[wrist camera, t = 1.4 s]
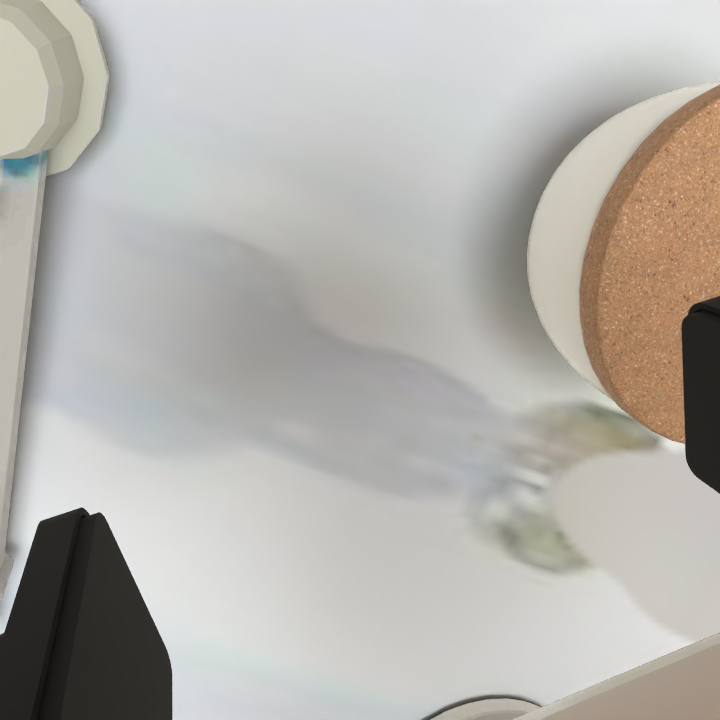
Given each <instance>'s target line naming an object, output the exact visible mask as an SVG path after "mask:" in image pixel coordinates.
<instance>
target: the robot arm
mask: <svg viewBox="0 0 720 720" xmlns="http://www.w3.org/2000/svg"><path fill="white" fill-rule="evenodd" d="M681 331H682V361H683V391H684V421H685V450H686V460H687V463H688V465H689V467H690V469H691V471H692V472H693V473H694V475H695V476H696V477H698V478H699V479H700V480H702V481H703V482H704V483H706V484H707V485H709V486H710V487H711V488H713V489H714V490H716V491H717V492H718V493H720V296H717V297H714V298H711V299H708V300H705V301H702V302H699V303H696V304H694V305H693V306H692V307H691V308H690V309H689V312H688V316H686V317H685V318H684V319H683V321H682V327H681ZM0 720H172V669H171V663H170V659H169V655H168V652H167V650H166V647H165V645H164V643H163V641H162V638H161V636H160V634H159V632H158V630H157V628H156V626H155V623H154V621H153V619H152V617H151V615H150V613H149V611H148V608H147V606H146V604H145V602H144V600H143V598H142V596H141V593H140V591H139V589H138V587H137V585H136V583H135V581H134V578H133V576H132V574H131V572H130V570H129V568H128V566H127V563H126V561H125V559H124V557H123V555H122V553H121V551H120V548H119V546H118V544H117V542H116V540H115V538H114V536H113V533H112V531H111V529H110V527H109V525H108V523H107V521H106V519H105V517H104V516H103V515H102V513H100V512H99V513H96V514H93V515H89V513H88V512H87V511H86V510H85V509H84V508H79V509H76V510H73V511H70V512H67V513H64V514H61V515H58V516H55V517H52V518H49V519H46V520H43V521H40V523H39V525H38V527H37V530H36V533H35V537H34V540H33V543H32V546H31V549H30V553H29V556H28V559H27V562H26V565H25V569H24V572H23V575H22V578H21V581H20V585H19V588H18V591H17V594H16V597H15V601H14V604H13V607H12V610H11V613H10V616H9V620H8V623H7V626H6V629H5V632H4V633H3V634H1V635H0ZM430 720H720V633H718V634H715V635H713V636H711V637H708V638H706V639H703V640H701V641H698V642H696V643H694V644H691V645H689V646H686V647H684V648H682V649H679V650H677V651H675V652H672V653H670V654H667V655H665V656H663V657H660V658H658V659H655V660H653V661H651V662H648V663H646V664H643V665H641V666H639V667H636V668H634V669H632V670H629V671H627V672H624V673H622V674H620V675H617V676H615V677H612V678H610V679H608V680H605V681H603V682H600V683H598V684H596V685H593V686H591V687H589V688H586V689H584V690H581V691H579V692H577V693H574V694H572V695H569V696H567V697H565V698H562V699H560V700H558V701H555V702H553V703H551V704H548V705H546V706H543V707H539V706H537V705H534V704H531V703H528V702H526V701H521V700H514V699H507V698H506V699H486V700H481V701H476V702H471V703H467V704H464V705H461V706H458V707H455V708H453V709H450V710H447V711H445V712H443V713H441V714H439V715H438V716H436V717H434V718H432V719H430Z"/></svg>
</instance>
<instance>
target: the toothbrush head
mask: <svg viewBox="0 0 720 720" xmlns="http://www.w3.org/2000/svg"><path fill="white" fill-rule="evenodd" d="M109 79H110V73H109V70H108V66H107V62H106V59H105V55H104V52H103V48H102V45H101V41H100V37H99V34H98V30H97V27H96V23H95V20H94V18H93V17H92V16H91V15H90V14H89V13H88V11H87V10H86V9H85V8H84V7H83V6H82V5H81V3H80V2H79V1H78V0H0V600H1V599H2V596H3V593H4V590H5V587H6V585H7V582H8V579H9V576H10V573H11V570H12V567H13V561H14V559H13V558H12V557H11V556H9V555H8V554H7V553H6V552H5V547H6V538H7V529H8V519H9V510H10V501H11V492H12V483H13V473H14V464H15V455H16V446H17V437H18V427H19V418H20V409H21V400H22V391H23V381H24V372H25V363H26V354H27V345H28V335H29V326H30V317H31V308H32V299H33V289H34V280H35V271H36V262H37V253H38V243H39V234H40V225H41V216H42V207H43V197H44V188H45V179H46V177H47V176H50V175H53V174H56V173H59V172H62V171H65V170H68V169H69V168H70V167H71V166H72V165H73V164H74V162H75V161H76V160H77V158H78V157H79V156H80V155H81V153H82V152H83V151H84V149H85V148H86V147H87V146H88V144H89V143H90V142H91V141H92V139H93V138H94V137H95V135H96V134H97V133H98V132H99V130H100V129H101V128H102V121H103V115H104V109H105V103H106V97H107V91H108V85H109Z"/></svg>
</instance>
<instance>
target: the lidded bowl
mask: <svg viewBox="0 0 720 720" xmlns="http://www.w3.org/2000/svg"><path fill="white" fill-rule="evenodd" d="M527 274H528V282H529V287H530V292H531V297H532V300H533V303H534V306H535V308H536V311H537V314H538V316H539V319H540V322H541V324H542V326H543V328H544V329H545V331H546V333H547V334H548V336H549V338H550V340H551V341H552V342H553V344H554V345H555V347H556V348H557V349H558V351H559V352H560V353H561V354H562V356H563V357H564V358H565V359H566V360H567V361H568V362H569V364H570V365H571V366H572V367H573V368H574V369H575V370H576V371H577V372H578V373H579V374H580V375H581V376H582V377H583V378H584V379H585V380H586V381H588V382H589V383H590V384H592V385H593V386H594V387H596V388H597V389H598V390H599V391H601V392H602V393H603V394H605V395H606V396H607V397H609V398H610V399H612V400H613V401H614V402H615V403H616V404H617V405H618V406H619V407H620V408H621V409H622V410H624V411H625V412H626V413H628V414H629V415H630V416H632V417H633V418H634V419H635V420H637V421H638V422H639V423H641V424H642V425H644V426H645V427H647V428H648V429H650V430H651V431H653V432H655V433H658V434H660V435H662V436H664V437H666V438H668V439H670V440H672V441H676V442H680V443H684V444H685V421H684V391H683V361H682V331H681V327H682V321H683V319H684V318H685V317H686V316H688V312H689V309H690V308H691V307H692V306H693V305H694V304H696V303H699V302H702V301H705V300H708V299H711V298H714V297H717V296H720V81H718V82H711V83H704V84H698V85H692V86H688V87H684V88H681V89H677V90H673V91H670V92H667V93H664V94H661V95H658V96H655V97H652V98H649V99H647V100H645V101H642V102H640V103H638V104H635V105H633V106H631V107H629V108H627V109H625V110H624V111H622V112H620V113H618V114H616V115H614V116H613V117H611V118H609V119H608V120H607V121H605V122H604V123H603V124H602V125H600V126H599V127H598V128H596V129H595V130H594V131H592V132H591V133H590V134H589V135H587V136H586V137H585V138H584V139H583V140H582V141H581V142H580V143H579V144H578V145H577V146H576V147H575V148H574V149H573V150H572V151H571V152H570V153H569V154H568V155H567V156H566V157H565V159H564V160H563V161H562V163H561V164H560V165H559V167H558V168H557V169H556V171H555V172H554V174H553V175H552V177H551V179H550V181H549V183H548V184H547V186H546V188H545V190H544V192H543V193H542V196H541V198H540V201H539V204H538V206H537V209H536V211H535V214H534V217H533V221H532V226H531V230H530V234H529V241H528V250H527Z"/></svg>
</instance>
